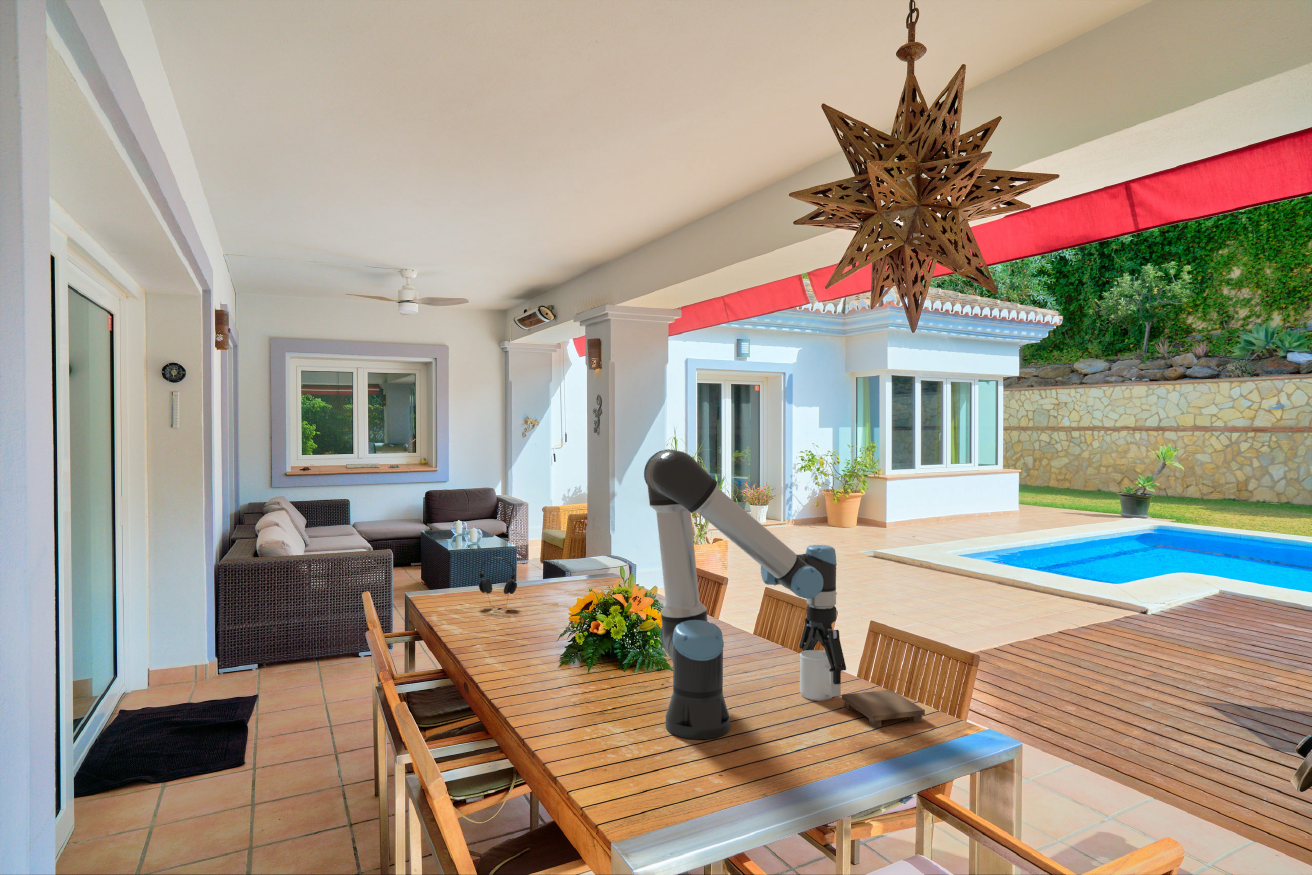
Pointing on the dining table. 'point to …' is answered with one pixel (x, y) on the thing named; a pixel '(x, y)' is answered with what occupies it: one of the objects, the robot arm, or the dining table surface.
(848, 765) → the dining table surface
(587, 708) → the dining table surface
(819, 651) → the mug
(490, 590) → the headphones
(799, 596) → the robot arm
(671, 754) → the dining table surface
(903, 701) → the stand
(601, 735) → the dining table surface
